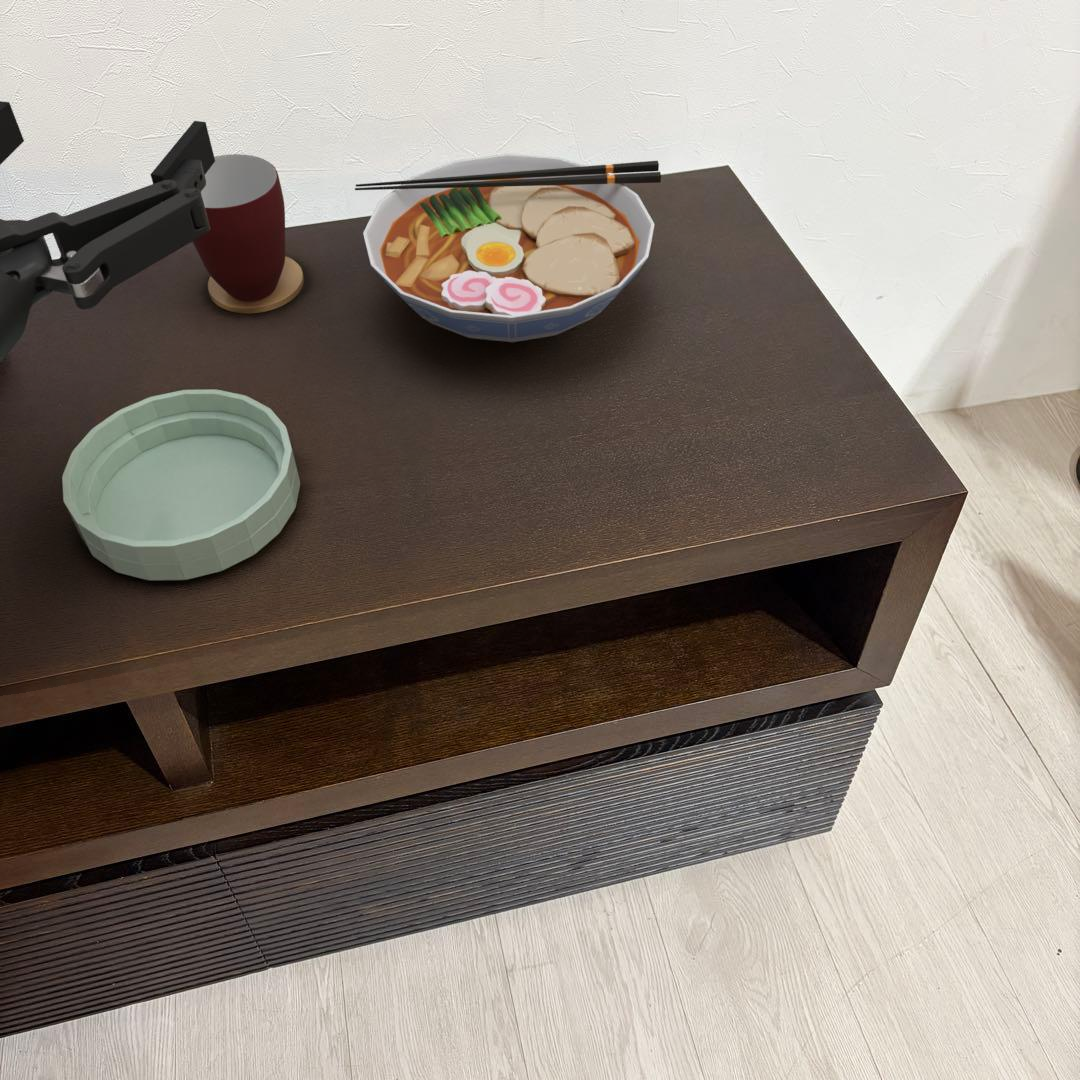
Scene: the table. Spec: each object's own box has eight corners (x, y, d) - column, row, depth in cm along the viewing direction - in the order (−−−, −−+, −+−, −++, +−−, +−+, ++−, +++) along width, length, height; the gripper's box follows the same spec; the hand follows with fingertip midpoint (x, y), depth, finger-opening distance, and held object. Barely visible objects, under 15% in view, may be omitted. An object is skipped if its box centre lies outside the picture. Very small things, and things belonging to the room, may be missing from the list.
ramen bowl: (351, 401, 84) (334, 313, 78) (371, 233, 99) (359, 148, 93) (677, 390, 84) (686, 302, 78) (648, 224, 99) (653, 139, 93)
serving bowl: (87, 610, 70) (66, 571, 67) (77, 457, 80) (58, 415, 77) (318, 553, 73) (308, 513, 70) (281, 412, 83) (271, 370, 80)
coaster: (215, 321, 90) (213, 316, 90) (203, 268, 96) (202, 262, 95) (311, 302, 92) (310, 296, 92) (295, 251, 97) (294, 245, 97)
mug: (222, 244, 97) (194, 137, 89) (312, 244, 97) (292, 138, 89) (194, 317, 90) (161, 208, 82) (291, 317, 90) (267, 209, 82)
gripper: (-247, 358, 62) (-44, 164, 76) (163, 415, 59) (298, 202, 72) (-326, 244, 57) (-91, 57, 70) (122, 300, 53) (277, 92, 67)
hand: (107, 130), depth 71 cm, fingers open, 13 cm apart
